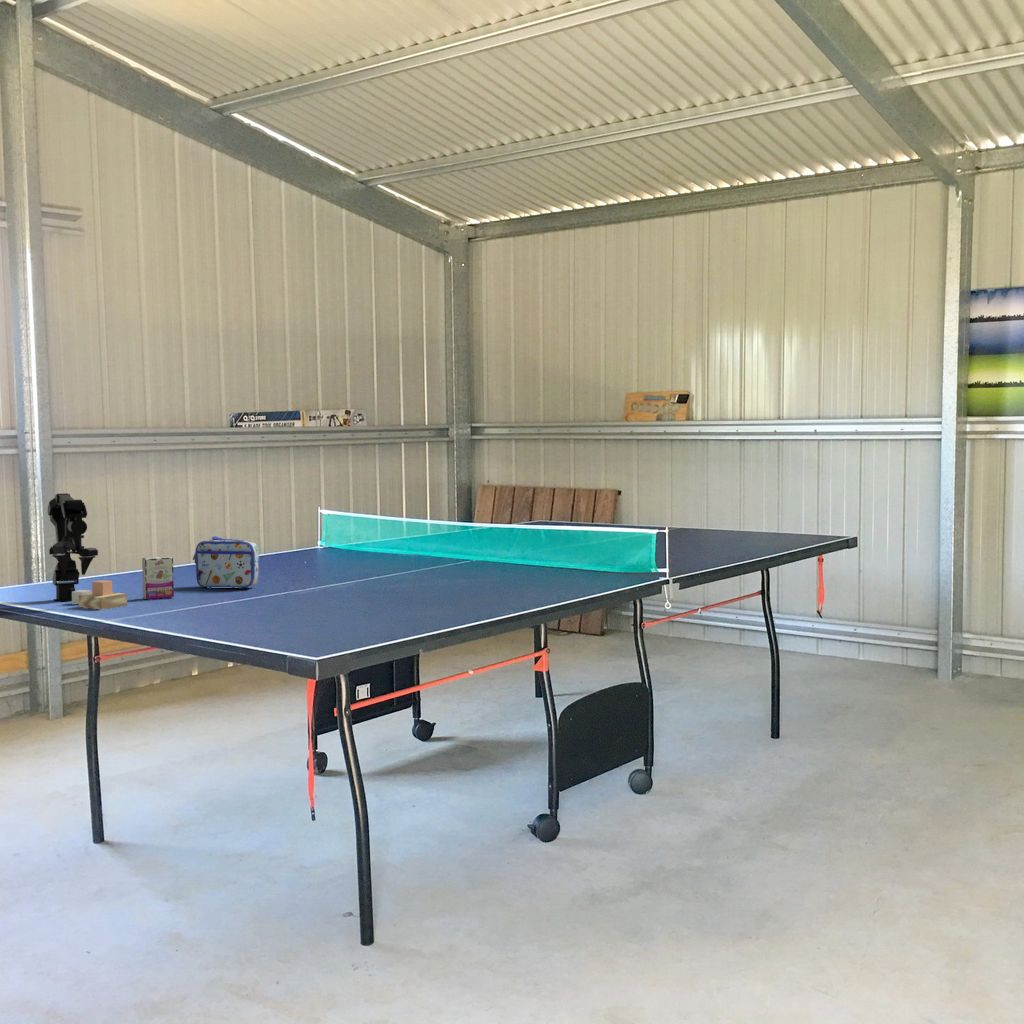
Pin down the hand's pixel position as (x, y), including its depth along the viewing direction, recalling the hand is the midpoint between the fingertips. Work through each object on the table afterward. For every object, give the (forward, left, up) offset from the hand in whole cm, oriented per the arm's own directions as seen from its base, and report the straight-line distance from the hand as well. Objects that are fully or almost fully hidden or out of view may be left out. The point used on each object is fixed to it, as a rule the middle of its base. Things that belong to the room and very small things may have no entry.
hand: (73, 574), depth 405 cm
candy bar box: (+15, +29, -12) cm, 35 cm away
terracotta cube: (+11, +3, -7) cm, 13 cm away
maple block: (+11, +3, -12) cm, 17 cm away
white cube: (-1, +5, -12) cm, 13 cm away
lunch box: (+20, +66, -12) cm, 70 cm away
